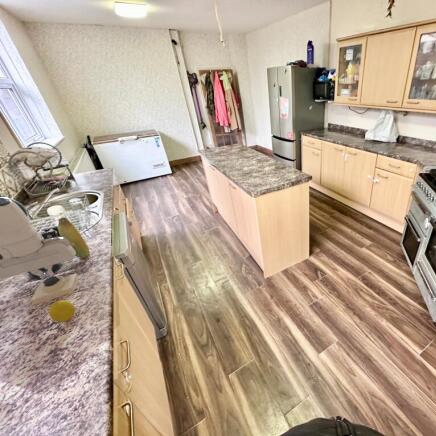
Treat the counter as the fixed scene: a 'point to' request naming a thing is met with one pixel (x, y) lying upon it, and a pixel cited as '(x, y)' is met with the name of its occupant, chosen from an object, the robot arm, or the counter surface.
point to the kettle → (54, 269)
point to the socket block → (55, 289)
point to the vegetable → (73, 237)
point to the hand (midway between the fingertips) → (48, 276)
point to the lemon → (62, 311)
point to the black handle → (50, 233)
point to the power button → (51, 281)
